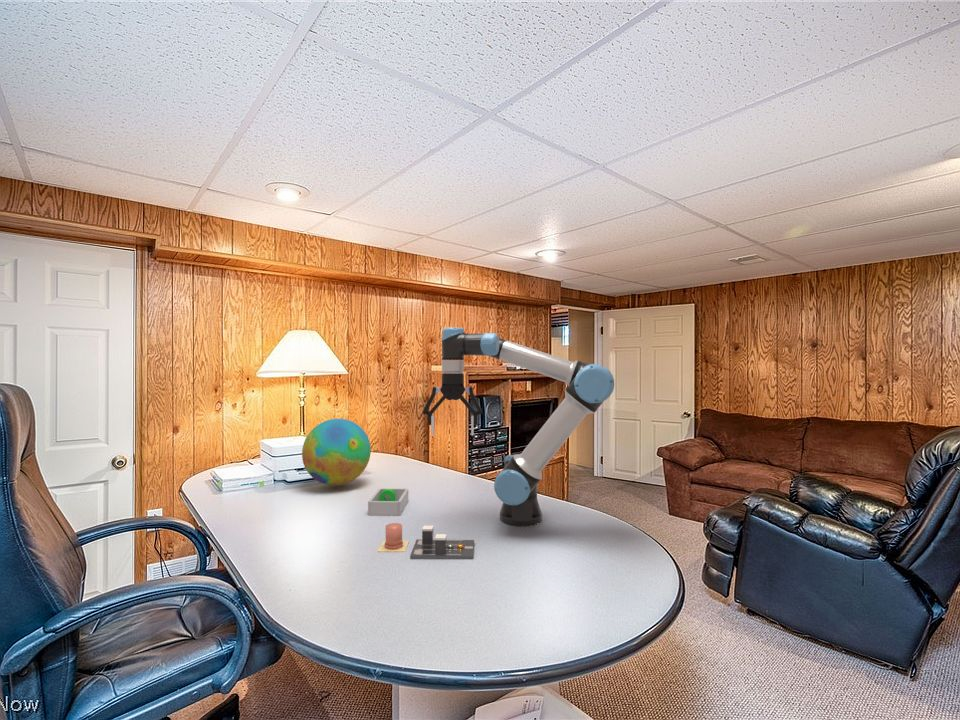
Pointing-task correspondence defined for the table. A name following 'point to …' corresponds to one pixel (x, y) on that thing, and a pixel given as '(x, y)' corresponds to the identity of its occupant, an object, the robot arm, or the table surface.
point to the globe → (336, 452)
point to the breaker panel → (453, 550)
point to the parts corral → (388, 503)
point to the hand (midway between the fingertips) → (452, 434)
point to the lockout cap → (393, 536)
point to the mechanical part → (389, 492)
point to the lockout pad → (402, 549)
